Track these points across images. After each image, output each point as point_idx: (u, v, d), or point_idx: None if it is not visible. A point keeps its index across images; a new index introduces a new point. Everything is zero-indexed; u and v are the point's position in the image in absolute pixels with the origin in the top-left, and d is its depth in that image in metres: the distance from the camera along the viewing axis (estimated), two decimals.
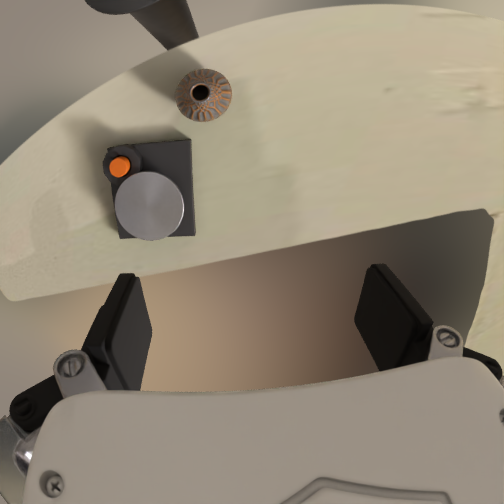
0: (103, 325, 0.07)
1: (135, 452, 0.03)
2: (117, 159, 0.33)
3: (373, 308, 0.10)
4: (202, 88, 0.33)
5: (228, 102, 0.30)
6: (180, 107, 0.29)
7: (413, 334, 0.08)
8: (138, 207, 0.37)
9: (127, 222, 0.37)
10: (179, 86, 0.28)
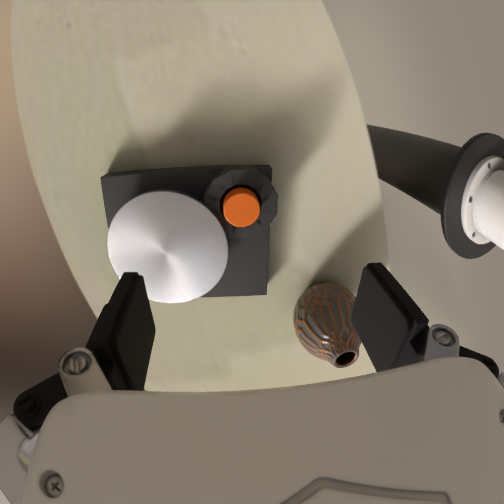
0: (108, 323, 0.07)
1: (135, 452, 0.03)
2: (257, 210, 0.20)
3: (369, 307, 0.10)
4: None
5: None
6: (325, 317, 0.24)
7: (409, 333, 0.08)
8: (164, 236, 0.21)
9: (134, 213, 0.20)
10: None
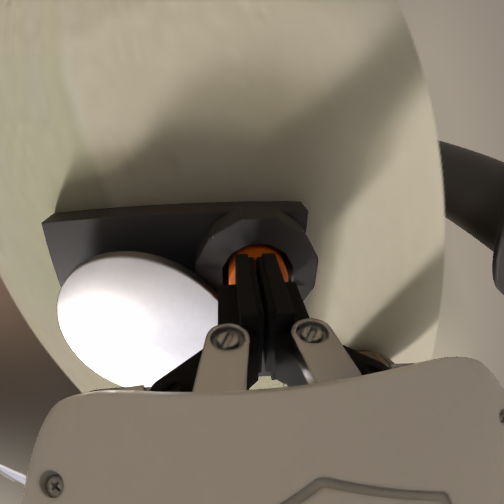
0: (248, 298, 0.09)
1: (135, 452, 0.03)
2: None
3: None
4: None
5: None
6: None
7: (274, 324, 0.08)
8: (136, 321, 0.13)
9: (87, 288, 0.12)
10: None
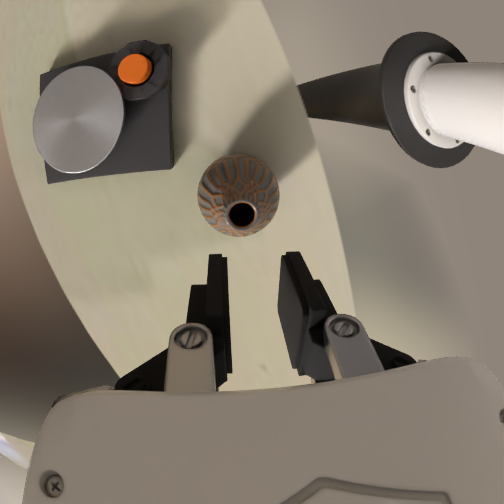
0: (215, 298, 0.09)
1: (135, 452, 0.03)
2: (145, 66, 0.18)
3: (284, 295, 0.11)
4: None
5: None
6: (219, 171, 0.21)
7: (306, 320, 0.09)
8: (73, 104, 0.19)
9: (54, 89, 0.17)
10: (254, 169, 0.21)
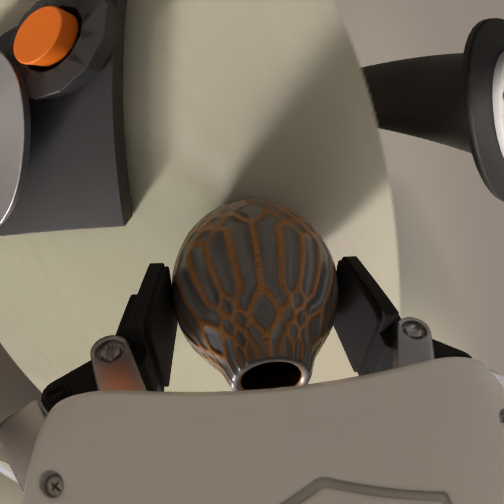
0: (140, 311, 0.08)
1: (135, 452, 0.03)
2: (58, 25, 0.06)
3: (344, 300, 0.11)
4: None
5: None
6: (215, 259, 0.09)
7: (378, 325, 0.08)
8: None
9: None
10: (298, 257, 0.09)
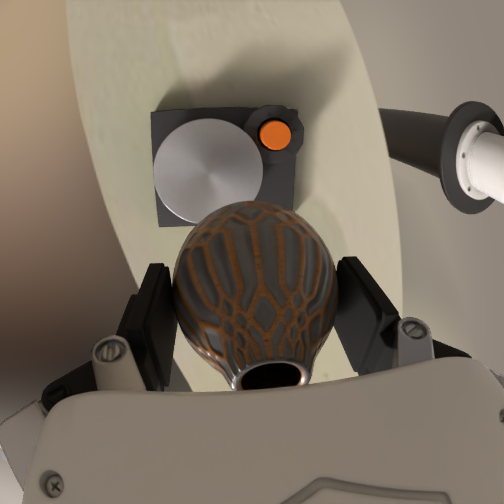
0: (140, 311, 0.08)
1: (135, 452, 0.03)
2: (289, 136, 0.23)
3: (343, 300, 0.11)
4: None
5: None
6: (215, 261, 0.09)
7: (378, 325, 0.08)
8: (208, 158, 0.24)
9: (183, 137, 0.23)
10: (298, 258, 0.09)
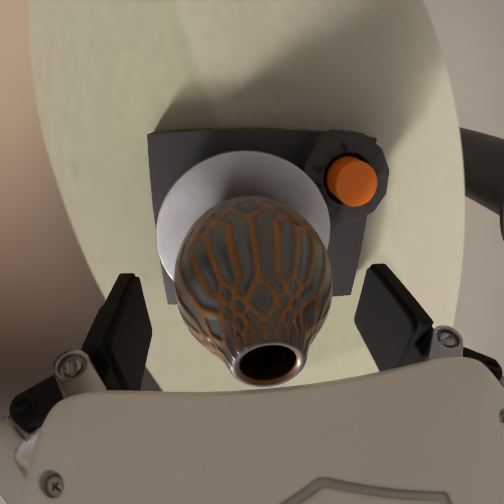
0: (103, 325, 0.07)
1: (135, 452, 0.03)
2: (374, 186, 0.15)
3: (373, 308, 0.10)
4: None
5: None
6: (215, 250, 0.10)
7: (413, 334, 0.08)
8: None
9: (205, 183, 0.14)
10: (293, 248, 0.10)
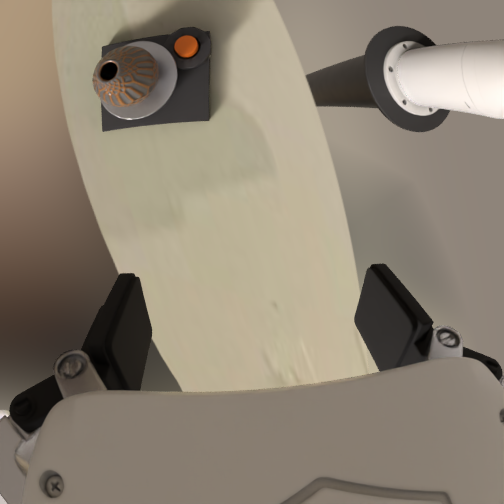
0: (103, 325, 0.07)
1: (135, 452, 0.03)
2: (195, 44, 0.25)
3: (373, 308, 0.10)
4: None
5: (112, 104, 0.23)
6: (106, 54, 0.20)
7: (413, 334, 0.08)
8: None
9: None
10: (129, 48, 0.20)
